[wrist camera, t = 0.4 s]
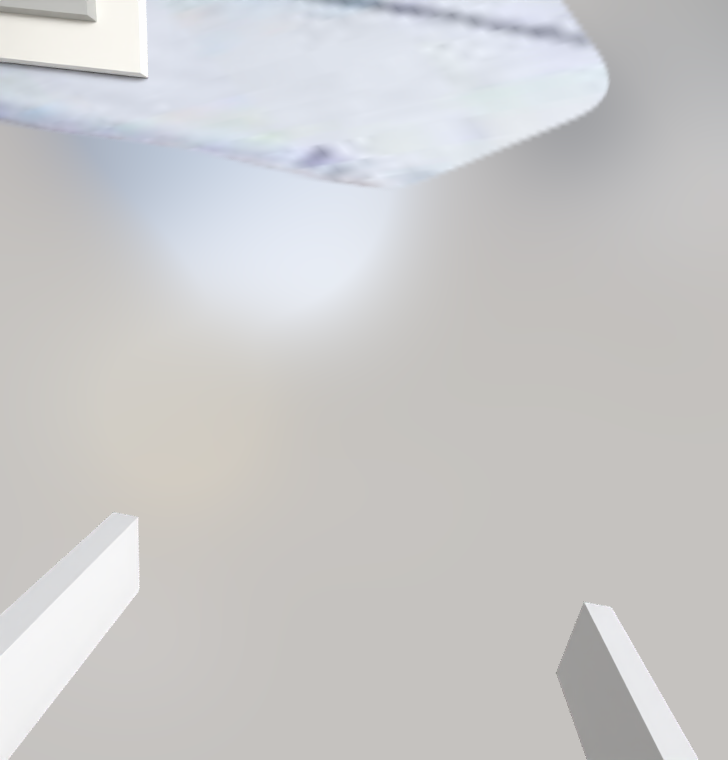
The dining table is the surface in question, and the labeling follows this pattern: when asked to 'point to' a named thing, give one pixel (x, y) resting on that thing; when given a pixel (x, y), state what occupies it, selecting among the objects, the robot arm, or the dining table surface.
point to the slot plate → (76, 35)
